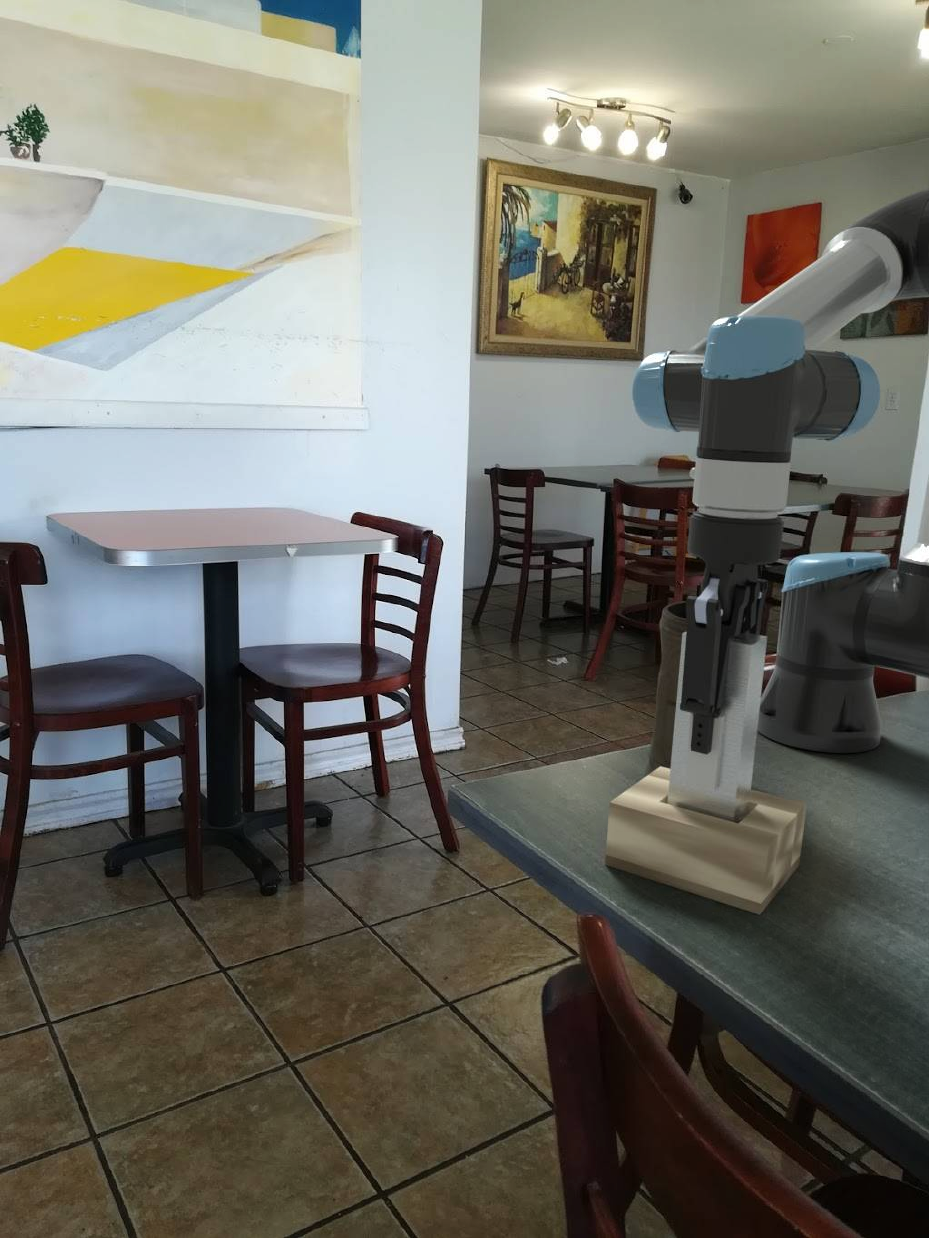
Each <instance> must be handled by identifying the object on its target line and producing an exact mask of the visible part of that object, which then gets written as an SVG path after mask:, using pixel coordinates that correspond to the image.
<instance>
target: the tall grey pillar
mask: <svg viewBox="0 0 929 1238" xmlns="http://www.w3.org/2000/svg"><path fill="white" fill-rule="evenodd" d="M685 644H686V632H684V633H682V645H681V656H680V667H679V679H678V690H677V701H676V712H675V724H674V735H673V746H672V757H671V769H670V780H669V791H668V802H667V804H669V805H673V806H676V807H680V808H684V809H687V810H691V811H694V812H698V813H702V814H705V815H709V816H713V817H716V818H720V819H724V820H727V821H731V822H734V823H738V824H739V823H740V822H741V821H742V820H743V819H744V818H745V817H746V816H747V815H748V810H749V801H750V792H751V790H752V784H753V783H752V782H753V781H752V780H753V773H754V772H753V771H754V762H755V754H756V745H757V736H758V730H757V727H758V718H759V709H760V700H761V697H762V691H763V690H762V689H763V688H762V687H763V679H764V672H765V662H766V661H765V660H766V652H767V651H766V650H767V644H768V636H765V635H761V634H760V635H755V634H749V633H746V634H741V633H740V634H739V636H737V637H735V638H734V639H733V641H731V643H730V653H729V663H728V672H727V678H726V684H725V690H724V696H723V702H722V707H721V714H720V715H724V716H725V719H724V729H723V739H722V749H721V759H720V769H719V779H718V788H717V789H716V790H715V791H714V790H710V789H706V788H702V787H699V786H695V785H691V784H687V783H684V782H685V771H686V760H687V750H688V739H689V728H690V717H691V713H690V712H686V711H681V710H680V704H681V697H682V684H683V671H684V657H685Z"/></svg>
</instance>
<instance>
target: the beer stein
mask: <svg viewBox="0 0 929 1238" xmlns="http://www.w3.org/2000/svg"><path fill="white" fill-rule="evenodd" d="M658 625H659V627H658V629H659V632H660V633H659V634H660V635H659V636H660V646H661V664H660V667H659V668H660V669H659V672H658V675H657V676H658V677H657V688H656V702H655V703H656V705H655V707H656V708H655V715H654V726H653V734H652V739H651V743H650V745H649V747H648V750H647V756H648V763H647V764H646V768H645V770H644V773H643V774H644V776H643V778H645V777H646V776H647V775H649V774H650V773H652V772H653V771H654V770H656V769H657V768H659V767H660V766H661V767H665V768H669V769H671V757H672V746H673V735H674V724H675V712H676V701H677V690H678V679H679V667H680V656H681V645H682V633H684V632H686V631H687V617H686V600H685V601H684V600H683V601H678V602H674V603H670V604H667V605H666V606H665V607H664V608H663V609H662V613H661V618H660V620H659V624H658Z"/></svg>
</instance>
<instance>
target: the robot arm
mask: <svg viewBox="0 0 929 1238" xmlns="http://www.w3.org/2000/svg"><path fill="white" fill-rule="evenodd" d="M915 298H916V299H917V298H929V187H928V188H924V189H920V190H917V191H914V192H913V193H910V194H907V195H905V196H903V197H900V198H898V199H896V200H893V201H892V202H890V203H887V204H886V205H883V206H882V207H880V208H878V209H876V210H874V211H873V212H871V213H868V215H866V216H864V217H862V218H861V219H859V220H857V221H855V222H853V223H852V224H850V225H849V226H848V227H847V228H845V229H844V230H841V232H839V233H837V234H836V235H835V236H833V238H832V239H831V240H830V241H829V242H828V243H827V245H826V246H825V248H824V250H823V253H822V255H821V257H819V258H818V259H816V260H815V261H813V262H812V263H811V264H810V265H808V266H807V267H805V268H803V269H802V270H801V271H799V272H798V273H797V274H795V275H794V276H793V277H791V278H789V279H788V280H787V281H785V282H784V283H782V284H781V285H779V286H778V287H777V288H775V289H774V290H772V291H771V292H770V293H768V294H766V295H765V296H764V297H762V298H760V299H759V300H757V302H755V303H754V304H752V305H751V306H750V307H748V308H747V309H745V310H744V311H742V312H741V313H740V314H738V315H737V316H734V315H733V316H725V317H721V318H719V319H717V320H715V321H714V322H713V323H712V324H711V325H710V327H709V329H708V333H707V337H705V338H703V339H702V340H701V341H699V342H697V343H696V344H694V345H693V346H691V347H690V348H688V349H684V350H682V351H677V350H675V349H671V350H668V351H667V350H666V351H663V352H662V351H661V352H655V353H652V354H650V355H648V356H647V357H645V358H644V359H643V360H642V361H641V363H640V364H639V366H638V368H637V370H636V371H635V374H634V377H633V381H632V389H631V391H632V392H631V394H632V395H631V397H632V401H633V406H634V410H635V412H636V414H637V416H638V418H639V419H640V420H641V421H642V422H643V423H644V424H645V425H646V426H649V427H652V429H653V428H655V429H661V430H668V431H672V432H674V433H680V432H689V433H690V432H694V433H698V442H697V446H696V453H695V455H696V456H695V467H692V468H691V469H690V471H689V476H690V478H692V479H693V481H694V482H693V490H692V501H691V502H692V503H693V504H694V505H695V507H697V508H698V510H696V511H693V513H692V514H691V515H690V516H689V524H688V525H689V527H688V541H687V552H688V554H689V555H690V556H691V557H692V558H694V559H698V560H703V561H704V563H705V568H704V573H703V575H702V576H703V577H702V579H701V581H700V583H699V589H698V595H697V596H695V595H688V596H687V597H686V600H685V601H686V617H687V631H686V644H685V657H684V671H683V684H682V697H681V704H680V710H681V711H686V712H690V713H691V717H690V728H689V739H688V750H687V760H686V771H685V782H684V783H687V784H691V785H695V786H699V787H702V788H706V789H710V790H714V791H715V790H716V789H717V788H718V779H719V769H720V759H721V749H722V739H723V729H724V719H725V716H724V715H720V714H721V707H722V702H723V696H724V690H725V684H726V678H727V672H728V663H729V653H730V643H731V641H733V639H734V638H735V637H737V636H739V634H740V633H741V634H746V633H749V634H755V635H761V631H762V630H761V628H762V619H763V611H764V605H765V601H766V600H765V599H766V596H767V591H768V589H769V581H768V580H767V579H761V578H758V577H759V573H758V572H759V571H758V570H759V569H758V566H762V565H772V564H774V563H775V562H777V561H779V559H780V557H781V551H782V543H783V542H782V541H783V533H784V525H785V522H784V521H783V520H782V517H780V516H778V515H779V512H783V511H784V510H785V509H786V508H787V502H788V492H789V483H790V482H789V481H790V472H791V471H790V470H791V459H792V458H791V457H792V447H793V442H794V440H797V439H798V440H819V441H820V440H821V441H823V440H824V441H827V442H831V441H832V442H833V441H835V440H836V439H842V438H848V437H851V436H855V434H857V433H859V432H860V431H862V430H863V429H864V428H865V427H866V426H867V425H868V424H869V423H870V422H871V420H873V418H874V416H875V414H876V412H877V410H878V407H879V404H880V401H881V386H880V381H879V380H880V379H879V378H878V375H877V373H876V372H875V370H874V367H872V366H871V364H870V363H869V362H867V361H866V360H864V359H863V358H861V357H859V356H856V355H852V354H848V353H846V352H845V351H842V350H835V351H825V350H818V349H817V348H818V347H820V345H822V344H823V343H824V342H825V341H827V340H829V339H830V338H831V337H833V335H835V334H836V333H837V332H839V331H840V330H841V329H843V328H844V327H845V326H846V325H848V324H849V323H850V322H852V321H853V320H854V319H856V318H857V317H859V316H860V315H861V314H871V313H874V312H877V311H879V310H881V309H883V308H884V307H886V306H888V305H889V304H890V303H891V302H894V301H895V302H896V301H898V300H899V301H900V300H906V299H915ZM816 349H817V350H816ZM926 482H927V483H926V488H925V494H924V501H923V506H922V512H921V517H920V523H919V529H918V535H917V541H916V542H915V544H914V545H913V546H912V547H910V548H908V550H906V551H905V552H903V553H902V554H900V555H899V559H898V564H897V569H891V568H889V567H890V566H891V562H890V559H889V556H888V555H887V554H885V553H878V552H866V551H865V552H864V551H862V552H858V551H857V552H855V551H854V552H853V551H851V552H847V551H845V552H841V551H840V552H823V553H822V552H821V553H820V552H819V553H810V554H802V555H799V556H798V555H797V556H796V557H794V558H793V559H792V560H790V562H788V564H787V567H786V571H785V577H784V582H783V587H782V588H781V594H782V595H781V606H780V615H779V625H778V634H777V635H778V636H777V644H776V645H777V647H776V656H775V664H774V665H775V666H774V670H773V672H772V673H771V674H772V675H771V676H770V678H769V681H768V682H767V685H766V687H765V689H764V691H763V693H762V694H761V700H760V709H759V718H758V727H757V732H758V733H760V734H761V735H763V736H764V737H766V738H768V739H770V740H773V741H775V742H776V743H780V744H783V745H786V746H789V747H793V748H797V749H798V748H799V749H802V750H808V751H815V752H822V753H831V754H833V753H834V754H835V753H836V754H850V753H851V754H853V753H863V752H868V751H871V750H873V749H875V748H877V747H878V746H879V745H880V743H881V736H882V730H883V723H882V718H881V715H880V710H879V706H878V700H877V696H876V691H875V686H874V672H875V667H878V668H881V669H887V670H891V671H894V672H900V673H902V674H907V675H908V674H909V675H912V676H916V677H920V678H924V679H929V475H928V478H927V481H926Z"/></svg>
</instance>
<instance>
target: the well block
mask: <svg viewBox="0 0 929 1238" xmlns="http://www.w3.org/2000/svg"><path fill="white" fill-rule="evenodd" d="M669 780H670V769H669V768H665V767H661V766H660V767H659V768H657V769H656V770H654V771H653V772H652V773H650V774H649V775H647V776H646V777H645V778H644V777H643V778H641V779H640V780H639V781H638V782H636V783H635V784H633V785H632V786H630V787H629V788H628V789H626V790H625V791H624V792H622V793H620V794H619V795H618V796H616V797H615V798H614V799H612V800H611V801H609V807H608V819H607V834H606V835H607V836H606V846H605V863H604V865H605V866H608V867H610V868H614V869H617V870H620V871H623V872H626V873H629V874H632V875H636V876H638V877H641V878H645V879H647V880H651V881H654V882H657V883H660V884H663V885H667V886H669V887H673V888H675V889H678V890H682V891H685V892H687V893H692V894H694V895H697V896H700V897H703V898H706V899H709V900H712V901H716V902H719V903H722V904H725V905H728V906H730V907H733V908H737V909H740V910H743V911H747V912H749V913H753V914H755V915H759V916H760V915H761V914H762V913H763V912H764V911H765V910H766V907H768V905H769V904H770V903H771V902H772V900H774V898H775V897H776V895H777V894H778V893H779V891H780V890H781V889H782V888H783V887H784V886H785V884H786V883H787V882H788V880H789V879H790V877H791V876H793V874H794V872H796V871H797V869H798V868H799V866H800V861H801V854H802V845H803V836H804V828H805V821H806V820H805V819H806V813H807V803H806V802H801V801H798V800H794V799H790V798H786V797H781V796H779V795H776V794H775V795H774V794H771V793H766V792H764V791H763V792H762V791H758V790H755V789H751V792H750V801H749V810H748V815H747V816H746V817H745V818H744V819H743V820H742V821H741V822H740V823H739V824H738V823H734V822H731V821H727V820H724V819H720V818H716V817H713V816H709V815H705V814H702V813H698V812H694V811H691V810H687V809H684V808H680V807H676V806H673V805H669V804H667V802H668V791H669Z"/></svg>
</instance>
